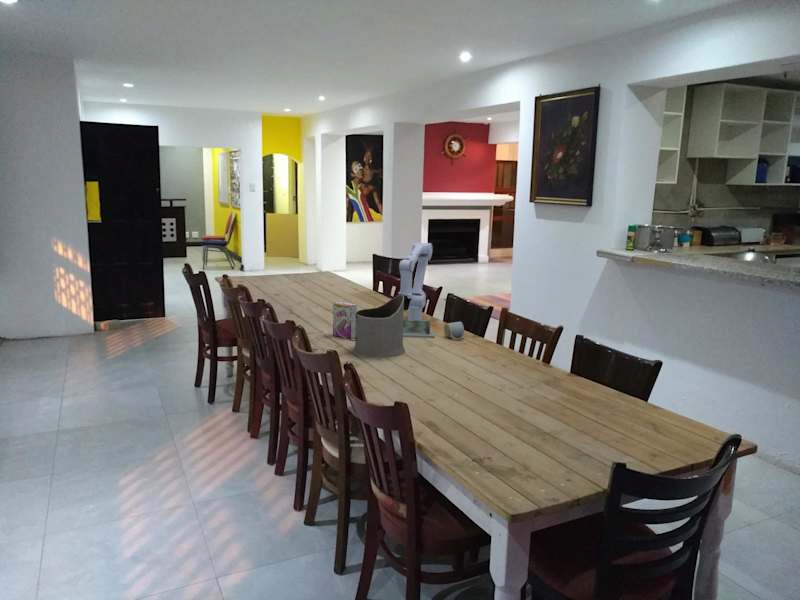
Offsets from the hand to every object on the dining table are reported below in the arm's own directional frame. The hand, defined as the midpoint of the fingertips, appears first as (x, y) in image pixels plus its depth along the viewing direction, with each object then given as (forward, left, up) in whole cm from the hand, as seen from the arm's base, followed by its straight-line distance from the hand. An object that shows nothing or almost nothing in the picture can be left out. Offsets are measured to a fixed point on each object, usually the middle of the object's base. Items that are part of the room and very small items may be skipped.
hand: (405, 310), depth 311 cm
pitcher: (+42, -15, -11) cm, 46 cm away
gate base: (+11, +5, -10) cm, 16 cm away
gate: (+9, +5, -9) cm, 14 cm away
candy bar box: (+17, -29, -11) cm, 35 cm away
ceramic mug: (+14, +25, -11) cm, 30 cm away
